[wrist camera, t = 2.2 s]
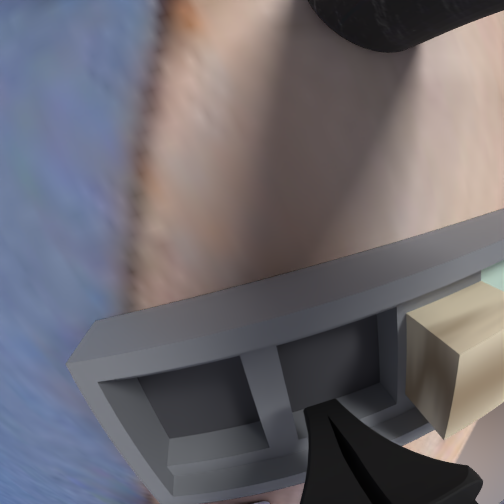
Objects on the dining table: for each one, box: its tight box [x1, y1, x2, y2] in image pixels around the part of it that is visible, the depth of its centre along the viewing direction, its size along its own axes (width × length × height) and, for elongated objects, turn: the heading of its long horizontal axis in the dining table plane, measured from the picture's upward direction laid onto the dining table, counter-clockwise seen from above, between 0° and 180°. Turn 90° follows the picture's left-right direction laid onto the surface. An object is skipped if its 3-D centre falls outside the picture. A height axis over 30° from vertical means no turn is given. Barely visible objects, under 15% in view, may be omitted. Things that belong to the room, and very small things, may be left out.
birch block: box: [405, 281, 504, 440], centre depth 12 cm, size 5×5×4 cm
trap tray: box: [66, 208, 504, 504], centre depth 14 cm, size 10×27×4 cm, turn 103°
